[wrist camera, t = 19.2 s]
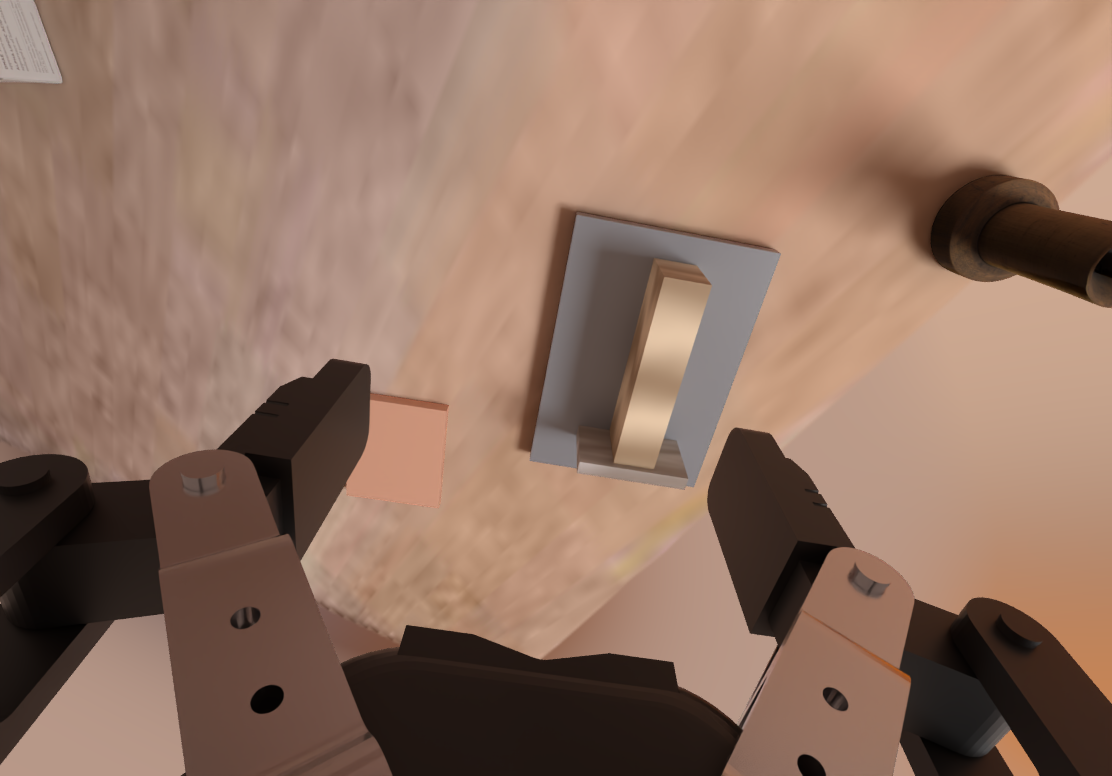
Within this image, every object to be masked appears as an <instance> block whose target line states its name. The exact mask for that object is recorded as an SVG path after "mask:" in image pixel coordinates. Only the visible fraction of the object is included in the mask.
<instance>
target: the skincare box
mask: <svg viewBox="0 0 1112 776" xmlns="http://www.w3.org/2000/svg"><path fill="white" fill-rule="evenodd" d="M0 82H35V83H53V84H61V83H62V77H61V74H60V71H59V68H58V65H57V62H56V60H55V57H54V54H53V52H52V49H51V46H50V43H49V41H48V38H47V35H46V32H45V30H44V27H43V24H42V21H41V19H40V16H39V13H38V10H37V7H36V5H35V2H34V0H0Z"/></svg>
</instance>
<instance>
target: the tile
mask: <svg viewBox="0 0 1112 776" xmlns="http://www.w3.org/2000/svg"><path fill="white" fill-rule="evenodd" d="M448 409H449V405H444V404H438V403H431V402H425V401H418V400H412V399H405V398H398V397H392V396H385V395H379V394H372V393H370V425H369V435H368V440H367V444H366V447H365V450H364V452H363V454H362V456H361V458H360V460H359V462H358V463H357V465H356V467H355V468H354V470H353V472H352V473H351V475H350V477H349V479H348V480H347V482H346V484H347V495H349V496H356V497H363V498H370V499H377V500H384V501H391V502H398V503H406V504H413V505H420V506H427V507H434V508H439V505H440V502H441V492H442V481H443V469H444V457H445V445H446V433H447V421H448Z"/></svg>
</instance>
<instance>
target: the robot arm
mask: <svg viewBox="0 0 1112 776" xmlns="http://www.w3.org/2000/svg"><path fill="white" fill-rule="evenodd" d="M370 384H371V372H370V367H369V365H367V364H362V363H356V362H350V361H344V360H338V359H331V360H329V361H328V362H327V364H326V365H325V366H324V367H323V368H322V369H321V370H320V371H319V372H318V373H317V374H316V375H315V377H314V378H307V377H300V378H298V379H296V380H293V381H291V382H289V383H287V384H285V385H282V386H280V387H279V388H278V389H277V390H276V391H275V392H274V393H273V394H272V395H271V396H270V397H269V398H268V399H267V401H266V403H263V404H262V405H261V406H260V407H259V408H258V409H257V410H256V411H255V414H252V415H251V416H250V417H249V418H248V419H247V420H246V421H245V422H244V423H243V424H242V425H241V426H240V427H239V428H238V429H237V430H236V431H235V432H234V433H233V434H232V435H231V436H230V437H229V438H228V439H227V440H226V441H225V442H224V443H223V444H222V445H221V446H220V447H219V448H218V449H217V450H203V451H196V452H192V453H188V454H185V455H182V456H179V457H177V458H174V459H172V460H170V461H168V462H167V463H165V464H164V465H162V466H161V467H159V468H158V469H157V470H156V471H155V472H154V474H153V475H152V477H151V479H150V480H140V481H121V482H102V483H91V480H90V476H89V472H88V469H87V467H86V465H85V464H84V463H83V462H82V461H80V460H78V459H77V458H74V457H70V456H65V455H56V454H42V455H32V456H26V457H20V458H16V459H12V460H9V461H6V462H2V463H0V602H1V604H0V764H1V763H2V762H3V761H4V759H5V758H6V757H7V755H8V754H9V753H10V752H11V751H12V749H13V748H14V747H15V746H16V744H17V743H18V742H19V740H20V739H21V738H22V737H23V735H24V734H25V733H26V732H27V730H28V729H29V728H30V727H31V725H32V724H33V723H34V722H35V720H36V719H37V718H38V716H39V715H40V714H41V713H42V711H43V710H44V709H45V708H46V706H47V705H48V704H49V703H50V701H51V700H52V699H53V698H54V696H55V695H56V694H57V692H58V691H59V690H60V689H61V687H62V686H63V685H64V683H65V682H66V681H67V680H68V678H69V677H70V676H71V675H72V673H73V672H74V671H75V670H76V668H77V667H78V666H79V665H80V663H81V662H82V661H83V659H84V658H85V657H86V656H87V655H88V653H89V652H90V651H91V649H92V648H93V647H94V646H95V644H96V643H97V642H98V640H99V639H100V638H101V637H102V635H103V634H104V633H105V632H106V631H107V629H108V628H109V627H110V625H111V624H112V623H113V622H114V620H118V619H126V618H134V617H142V616H150V615H157V614H164V617H165V624H166V631H167V638H168V646H169V654H170V661H171V667H172V676H173V683H174V690H175V697H176V705H177V712H178V720H179V727H180V734H181V742H182V749H183V756H184V764H185V771H186V772H185V773H184V774H183V775H181V776H893V772H894V767H895V762H896V757H897V752H898V747H899V742H900V743H901V746H902V748H903V750H904V752H905V754H906V756H907V759H908V761H909V763H910V765H911V767H912V769H913V772H914V774H915V776H1013V774H1012V772H1011V771H1010V769H1009V767H1008V766H1007V764H1006V762H1005V761H1004V759H1003V758H1002V756H1001V754H1000V753H999V751H998V749H997V748H996V746H995V745H996V744H997V743H998V742H999V741H1000V740H1001V739H1002V738H1003V737H1004V736H1005V735H1006V734H1007V733H1008V732H1009V731H1010V730H1012V732H1013V733H1014V735H1015V737H1016V738H1017V740H1018V741H1019V743H1020V744H1021V746H1022V747H1023V749H1024V750H1025V752H1026V753H1027V755H1028V757H1029V758H1030V760H1031V761H1032V763H1033V764H1034V766H1035V767H1036V769H1037V771H1038V773H1039V775H1040V776H1112V704H1111V703H1110V701H1109V700H1108V699H1107V698H1106V697H1105V696H1104V695H1103V693H1102V692H1101V691H1100V690H1099V688H1098V687H1097V686H1096V685H1095V684H1094V683H1093V681H1092V680H1091V679H1090V678H1089V677H1088V675H1087V674H1086V673H1085V672H1084V671H1083V670H1082V668H1081V667H1080V666H1079V665H1078V664H1077V662H1076V661H1075V660H1074V659H1073V658H1072V657H1071V656H1070V654H1069V653H1068V652H1067V651H1066V650H1065V648H1064V647H1063V646H1062V645H1061V644H1060V642H1059V641H1058V640H1057V639H1056V638H1055V637H1054V636H1053V635H1052V634H1051V633H1050V632H1049V631H1048V630H1047V629H1045V628H1044V627H1043V626H1042V625H1041V624H1039V623H1038V622H1037V621H1035V620H1034V619H1033V618H1031V617H1030V616H1028V615H1026V614H1025V613H1023V612H1021V611H1020V610H1018V609H1016V608H1014V607H1012V606H1010V605H1008V604H1005V603H1003V602H1000V601H997V600H993V599H989V598H974V599H971V600H970V601H969V602H968V603H967V605H966V606H965V607H964V609H963V610H962V611H961V612H960V614H959V615H956V614H953V613H951V612H948V611H945V610H943V609H940V608H938V607H935V606H932V605H929V604H927V603H924V602H922V601H919V600H916V599H914V594H913V591H912V589H911V587H910V585H909V584H908V582H906V580H905V579H904V578H903V576H902V575H900V573H898V572H897V571H896V570H895V569H894V568H893V567H891V566H890V565H888V564H887V563H886V562H884V561H883V560H881V559H879V558H878V557H876V556H874V555H872V554H870V553H867V552H864V551H862V550H858V549H855V547H854V546H853V544H852V543H851V541H850V539H849V538H848V536H847V535H846V533H845V532H844V530H843V528H842V527H841V525H840V524H839V522H838V520H837V519H836V517H835V516H834V514H833V513H832V511H831V510H830V508H827V503H826V502H825V500H824V499H823V497H822V495H821V494H818V489H817V488H816V486H815V484H814V483H813V481H812V480H811V478H810V477H809V475H808V474H807V473H806V472H805V471H804V470H802V469H801V468H800V467H799V466H798V465H797V464H796V463H794V462H793V461H792V460H791V459H789V458H785V457H784V455H783V453H782V451H781V450H780V448H779V446H778V445H777V443H776V441H775V440H774V438H773V436H772V435H771V434H770V433H766V432H760V431H754V430H748V429H742V428H734V429H733V430H732V431H731V432H730V434H729V436H728V438H727V441H726V443H725V446H724V448H723V451H722V454H721V456H720V459H719V461H718V464H717V466H716V469H715V472H714V474H713V477H712V479H711V482H710V485H709V489H708V498H707V503H708V510H709V513H710V516H711V519H712V522H713V525H714V528H715V531H716V534H717V537H718V540H719V543H720V546H721V549H722V552H723V555H724V558H725V560H726V563H727V567H728V569H729V572H730V575H731V578H732V581H733V584H734V587H735V590H736V593H737V596H738V599H739V602H740V605H741V608H742V611H743V614H744V616H745V620H746V622H747V626H748V629H749V631H750V633H751V634H757V635H765V636H771V637H775V639H776V641H777V644H778V645H777V647H776V649H775V650H774V652H773V654H772V656H771V658H770V660H769V661H768V664H767V665H766V668H765V669H764V672H763V673H762V675H761V677H760V679H759V681H758V683H757V685H756V687H755V689H754V691H753V693H752V695H751V697H750V699H749V701H748V703H747V705H746V707H745V709H744V711H743V713H742V715H741V717H740V719H739V721H738V723H737V724H735V723H734V722H733V721H732V720H731V719H730V718H729V717H728V716H726V715H725V714H724V713H723V712H721V711H720V710H719V709H717V708H716V707H715V706H713V705H712V704H710V703H709V702H707V701H706V700H704V699H703V698H701V697H699V696H697V695H695V694H693V693H692V692H690V691H688V690H686V689H684V688H681V687H679V686H678V685H677V679H676V674H675V669H674V664H673V662H667V661H661V660H653V659H646V658H639V657H631V656H625V655H617V654H611V653H608V654H599V655H589V656H580V657H572V658H571V657H570V658H561V659H553V660H540V659H536V658H533V657H530V656H528V655H525V654H523V653H520V652H518V651H515V650H512V649H510V648H507V647H505V646H502V645H500V644H497V643H494V642H492V641H489V640H487V639H484V638H482V637H479V636H476V635H474V634H467V633H460V632H453V631H446V630H438V629H431V628H424V627H417V626H410V625H406V628H405V631H404V635H403V638H402V641H401V644H400V647H396V648H387V649H383V650H378V651H374V652H370V653H366V654H363V655H360V656H357V657H354V658H352V659H349V660H347V661H345V662H343V663H341V664H340V662H339V659H338V657H337V654H336V652H335V649H334V647H333V644H332V641H331V639H330V636H329V634H328V631H327V629H326V626H325V623H324V621H323V618H322V616H321V613H320V611H319V608H318V606H317V603H316V600H315V598H314V595H313V593H312V590H311V588H310V585H309V583H308V580H307V577H306V575H305V572H304V570H303V567H302V565H301V562H300V561H301V559H302V557H303V556H304V554H305V552H306V551H307V549H308V547H309V545H310V544H311V542H312V540H313V539H314V537H315V535H316V533H317V532H318V530H319V528H320V527H321V525H322V523H323V521H324V520H325V518H326V516H327V515H328V513H329V511H330V509H331V508H332V506H333V504H334V503H335V501H336V499H337V497H338V496H339V494H340V492H341V491H342V489H343V487H344V485H345V484H346V482H347V480H348V479H349V477H350V475H351V473H352V472H353V470H354V468H355V467H356V465H357V463H358V462H359V460H360V458H361V456H362V454H363V452H364V450H365V447H366V444H367V440H368V435H369V425H370Z"/></svg>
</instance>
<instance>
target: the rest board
mask: <svg viewBox="0 0 1112 776" xmlns="http://www.w3.org/2000/svg"><path fill="white" fill-rule="evenodd" d="M780 255H781V253H779V252H778V251H776V250H775V249H770V248H765V247H760V246H754V245H749V244H744V243H739V242H733V241H728V240H723V239H718V238H712V237H707V236H702V235H697V234H692V233H686V232H681V231H676V230H671V229H665V228H660V227H655V226H650V225H644V224H639V223H634V222H629V221H624V220H618V219H613V218H608V217H603V216H597V215H592V214H587V213H582V212H576V217H575V223H574V228H573V233H572V238H571V244H570V249H569V254H568V259H567V264H566V270H565V275H564V280H563V285H562V291H561V296H560V301H559V306H558V312H557V317H556V322H555V327H554V332H553V338H552V343H551V348H550V353H549V359H548V364H547V369H546V374H545V379H544V385H543V390H542V395H541V400H540V406H539V411H538V416H537V421H536V427H535V432H534V437H533V442H532V447H531V453H530V461H534V462H540V463H546V464H553V465H559V466H565V467H571V468H577V446H576V435H577V430H578V426H579V425H581V426H588V427H594V428H600V429H606V430H610V426H611V422H612V418H613V415H614V411H615V407H616V403H617V399H618V395H619V391H620V388H621V384H622V380H623V376H624V372H625V368H626V364H627V361H628V357H629V353H630V349H631V345H632V341H633V337H634V334H635V330H636V326H637V322H638V318H639V314H640V310H641V307H642V303H643V299H644V295H645V291H646V287H647V283H648V280H649V276H650V272H651V268H652V264H653V260H654V258H657V259H663V260H669V261H674V262H680V263H685V264H691V265H696V266H698V268H699V269H700V270H701V272H702V273H703V274H704V275H705V277H706V278H707V279H708V281H709V282H710V283H711V285H712V287H711V291H710V294H709V297H708V300H707V303H706V306H705V309H704V313H703V316H702V319H701V322H700V325H699V328H698V332H697V335H696V338H695V341H694V344H693V347H692V351H691V354H690V357H689V360H688V363H687V366H686V369H685V373H684V376H683V379H682V382H681V385H680V388H679V392H678V395H677V398H676V401H675V404H674V407H673V411H672V414H671V417H670V420H669V423H668V426H667V429H666V433H665V436H664V439H668V440H675V441H677V444H678V447H679V450H680V453H681V457H682V460H683V463H684V466H685V469H686V473H687V476H688V482H687V484H686V486H689V487H694V485H695V483H696V480H697V477H698V475H699V472H700V469H701V467H702V464H703V461H704V458H705V456H706V453H707V450H708V448H709V445H710V442H711V440H712V437H713V434H714V432H715V429H716V426H717V424H718V421H719V418H720V416H721V413H722V410H723V408H724V405H725V402H726V400H727V397H728V394H729V391H730V389H731V386H732V383H733V381H734V378H735V375H736V373H737V370H738V367H739V365H740V362H741V359H742V357H743V354H744V351H745V349H746V346H747V343H748V341H749V338H750V335H751V333H752V330H753V327H754V324H755V322H756V319H757V316H758V314H759V311H760V308H761V306H762V303H763V300H764V298H765V295H766V292H767V290H768V287H769V284H770V282H771V279H772V276H773V274H774V271H775V268H776V266H777V263H778V260H779V257H780Z"/></svg>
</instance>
